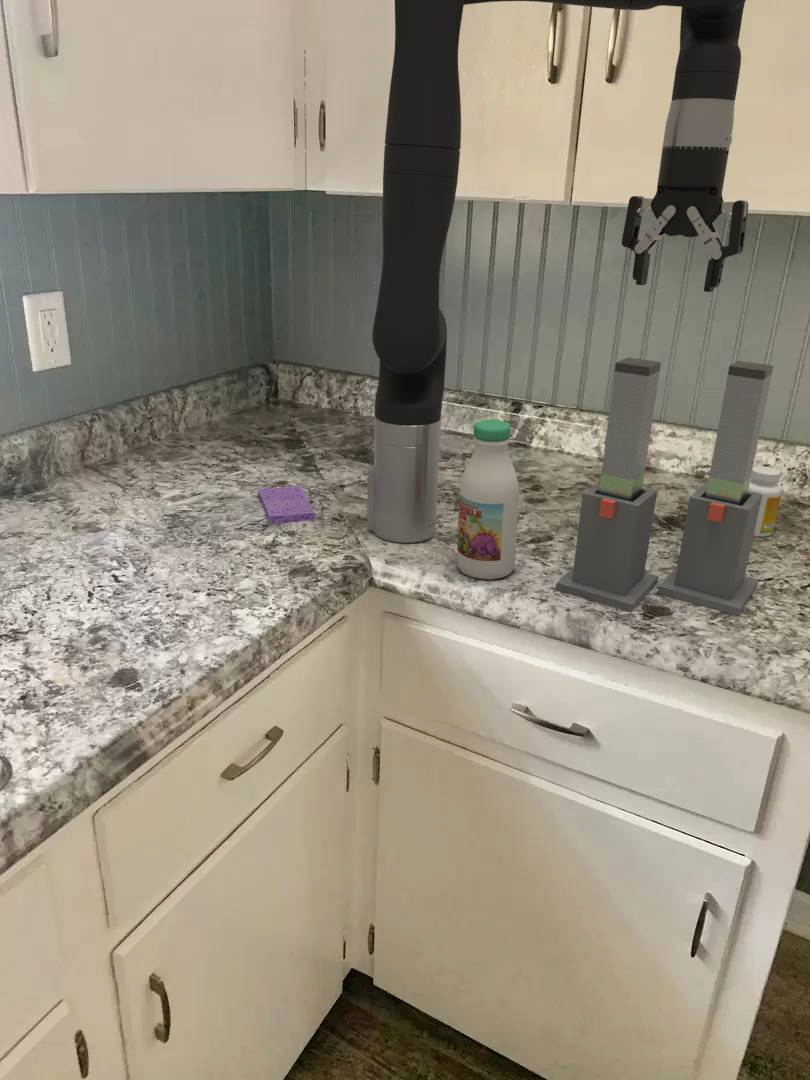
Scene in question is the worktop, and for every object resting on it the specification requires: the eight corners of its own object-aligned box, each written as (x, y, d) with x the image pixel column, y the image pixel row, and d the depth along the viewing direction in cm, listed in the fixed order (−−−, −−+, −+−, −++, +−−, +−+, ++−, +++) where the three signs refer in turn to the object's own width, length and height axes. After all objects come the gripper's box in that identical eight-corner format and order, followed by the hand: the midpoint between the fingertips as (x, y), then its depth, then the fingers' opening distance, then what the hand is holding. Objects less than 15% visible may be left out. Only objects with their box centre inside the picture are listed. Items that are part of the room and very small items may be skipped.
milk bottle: (485, 550, 117) (492, 411, 109) (526, 569, 112) (536, 424, 104) (444, 566, 113) (448, 422, 104) (485, 586, 107) (492, 436, 99)
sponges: (269, 527, 125) (269, 515, 124) (257, 497, 136) (257, 486, 135) (315, 523, 127) (315, 511, 126) (300, 494, 138) (300, 484, 137)
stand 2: (657, 593, 107) (673, 497, 102) (681, 566, 115) (697, 476, 110) (738, 615, 102) (759, 516, 97) (757, 586, 110) (777, 493, 105)
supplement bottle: (770, 526, 129) (783, 466, 126) (774, 539, 125) (788, 477, 121) (733, 522, 131) (745, 462, 127) (736, 535, 126) (748, 473, 122)
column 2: (697, 540, 105) (729, 366, 96) (706, 530, 108) (737, 360, 99) (730, 547, 103) (765, 371, 94) (738, 537, 106) (773, 365, 97)
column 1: (593, 536, 105) (615, 362, 97) (605, 526, 108) (627, 357, 100) (624, 544, 103) (649, 367, 94) (635, 534, 106) (661, 362, 98)
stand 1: (555, 589, 107) (566, 494, 102) (586, 563, 115) (597, 473, 110) (631, 611, 102) (646, 512, 97) (657, 582, 110) (673, 489, 105)
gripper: (626, 142, 99) (608, 285, 105) (751, 143, 92) (724, 296, 98) (647, 145, 105) (629, 280, 111) (766, 146, 98) (740, 291, 104)
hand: (674, 288), depth 105 cm, fingers open, 8 cm apart
